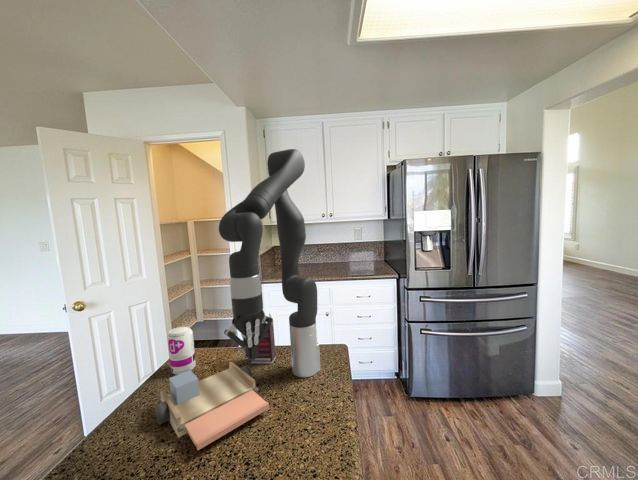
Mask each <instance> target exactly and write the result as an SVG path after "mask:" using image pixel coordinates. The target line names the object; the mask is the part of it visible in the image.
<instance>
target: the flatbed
mask: <svg viewBox="0 0 638 480" xmlns="http://www.w3.org/2000/svg"><path fill="white" fill-rule="evenodd" d="M198 381H199V392H200V395H199V396H196V397H194V398H192V399H190V400H188V401H186V402H183V403H181V404H179V405H177V403H176V402H175V400H174V398H173V397H172V395H171V392H170V393H168V394H167V392H166V390H165V389H162V390H160V391H159V392H160V400H161V402H160V403H158V404H156V405H154V413H155V417H156V422H157V425H158V426H161V425H163V424H165V423H167V422H169V423H170V425H171V427H172V429H173V431H174V432H175V434H176V436H177V438H180V437H182V436H184V435H186V434H188V433H187V431H186V429H185V424H187V423H189V422H191V421H193V420H195V419H197V418H199V417H201V416H203V415H205V414H206V413H208V412H210V411H212V410H214V409H216V408H218V407H220V406H222V405H224V404H226V403H228V402H230V401H232V400H234V399H236V398H238V397H240V396H242V395H243V394H245V393H247V392H249V391H251V390H253V391H254V392H255V393H257V392H258V391H259V388H258V387H257V386H256V379H254V378H253V374H252V371H251V368H250V367H249V366H248V365H244V366H242V367H239V366H238V365H237V364H236V363H235V362H233V361H230V362H228V368H227V369H224V370H222V371H219V372H217V373H215V374H213V375H210V376H207V377H205V378H204V379H201V380H198Z"/></svg>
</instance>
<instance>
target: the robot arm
mask: <svg viewBox="0 0 638 480" xmlns="http://www.w3.org/2000/svg"><path fill="white" fill-rule="evenodd" d="M266 162H267V163H266V164H267V172H268V173H267V174H268V176H269V177H266V178H265V179H264V180H262V181H261V182H259V183H258V184H257V185H256V186H254V188H252V189H251V191H250V192H249V193H248V194H247V195H246V197H245V199H243V200H242V201H241V202H239V203H238V204H236V205H235V206H233V207H232V208H231V209H229V210H228V211H227V212H226V213H225V214H223V216H222V217H221V219H220V221H219V224H218V233H219V235H220V237H221V238H222V239H223V240H225V241H227V242H230V243H235V242H236V243H238V242H240V243H241V247H240V250H237V251H234V252H232V253H231V254H229V257H228V264H229V273H230V274H229V276H230V280H229V284H230V298H231V308H232V309H231V310H232V312H231V313H232V317H233V318H232V320H231V324H232V325H230V326H229V328H227V329H225V330H224V332H223V334H224V335H225V336H227V337H228V338H229V339H230V340H231V341H233V342H234V344H236V345H238V346H239V347H241V348H244V351H245V357H246V359H248V360H249V361H250V362H251V361H253V360H255V359H257V356H258V342H259V341H260V340H263V339H264V337H265V335H266V333H267V331H268V329H269V327H270V325H271V323H272V321H273V322H274V318H273V319H272V317H270V316H268V315H266V314H265V312H264V310H263V309H264V301H263V300H264V299H263V287H262V280H261V274H260V265H259V255H260V249H261V244H262V243H261V242H262V239H263V231H264V230H263V229H264V228H263V226H264V225H263V222H262V220H263V219H264V218H266V217H267V216H268V214H269V212H270V211H271V209H272V208H273V206H274V210H275V217H276V228H277V238H278V242H279V243H278V244H279V251H280V252H279V253H280V262H281V263H280V264H281V288H282V295H283V297H284V299H285V300H286V301H287V302H289V303H292V304H297V311H294V312H292V313H290V315H289V317H288V323H289V341H290V352H291V353H290V355H291V370H292V374H293V375H294V376H295V377H298V378H310V377H312V376H315V375H316V374H317V373H319V372H321V354H320V352H321V351H320V344H319V342H318V337H317V335H318V332H317V314H318V287H317V284H316V282H315V280H314V279H313V278H312V277H306V276H301V275H300V269H299V263H300V262H299V260H300V257H301V254H302V251H303V249H304V246H305V243H306V239H307V234H306V224H305V218H304V216H303V214H302V213H301V210H299V208H298V207H297V205H296V204H295V203H294V201H293V200H292V199H291V197H290V195H289V192H288V189H289V188H290V187H291V186H292V185H293V184H295V182H296V181H297V180H298V179H299V178H301V177H302V175H303V173H304V172H305V167H306V166H305V165H306V164H305V159H304V156H303V154H302V152H301V150H298V149H296V148H289V149H284V150H279V151H274V152H271V153H270V154H268V158H267V161H266ZM237 331H238V332H239V333H240V334H241V337H242V339H241V338H240V337H239V336H237V335H238V332H237Z"/></svg>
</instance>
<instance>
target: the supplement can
mask: <svg viewBox="0 0 638 480" xmlns="http://www.w3.org/2000/svg"><path fill="white" fill-rule="evenodd" d="M193 332H194V331H193V330H192V329H191V326H187V325H185V326H177V327H175V328H172V329H171V330H169V331H168V335H167V345H168V356H169V365H170V366H169V367H170V372H171V373H172V374H174V375H175V376H176V375H179V374H181V373H184V372H186V371H189V370H191V371H192V370H194V369H195V367H196V366H197V363H196V354H195V353H196V352H195V341H194V333H193Z"/></svg>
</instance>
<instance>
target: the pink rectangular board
mask: <svg viewBox="0 0 638 480" xmlns="http://www.w3.org/2000/svg"><path fill="white" fill-rule="evenodd" d="M269 409H270V403H269V402H268V401H266V400H264V398H263V397H261V396H260V395H259V394H258V393H257V392H256V393H255V392H254V391H253V390H251V391H249V392H247V393H245V394H243V395H242V396H240V397H238V398H236V399H234V400H232V401H230V402H228V403H226V404H224V405H222V406H220V407H218V408H216V409H214V410H212V411H210V412H208V413H206V414H205V415H203V416H201V417H199V418H197V419H195V420H193V421H191V422H189V423H187V424H185V429H186V431H187V433H186V434H187V435H188V436H189V438H190V440H191V441H192V443H193V444H194V446H195V449H196V451H199V450H202V449H204V448H205V447H206V446H208V445H210V444H211V443H213V442H215V441H216V440H219V439H221V437H224V436H225V435H227V434H229V433H230V432H232V431H233V430H236V429H237V428H238V427H240V426H242V425H244V424H245V423H247V422H249V421H250V420H252V419H254V418H256V417H257V416H258V415H261V414H262V413H264V412H265V411H267V410H269Z"/></svg>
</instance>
